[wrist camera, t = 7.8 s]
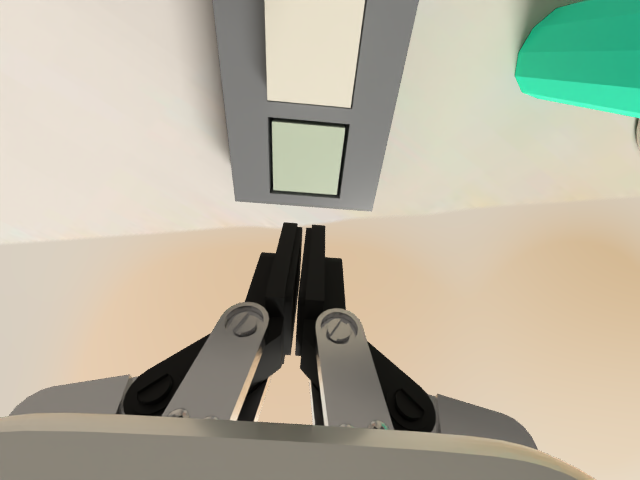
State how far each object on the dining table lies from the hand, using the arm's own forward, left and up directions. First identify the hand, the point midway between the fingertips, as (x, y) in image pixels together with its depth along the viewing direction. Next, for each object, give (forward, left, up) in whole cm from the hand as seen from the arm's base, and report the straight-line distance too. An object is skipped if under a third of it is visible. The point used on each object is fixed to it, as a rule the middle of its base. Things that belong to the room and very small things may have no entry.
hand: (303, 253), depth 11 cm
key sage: (0, 0, -15) cm, 15 cm away
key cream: (0, -7, -14) cm, 15 cm away
